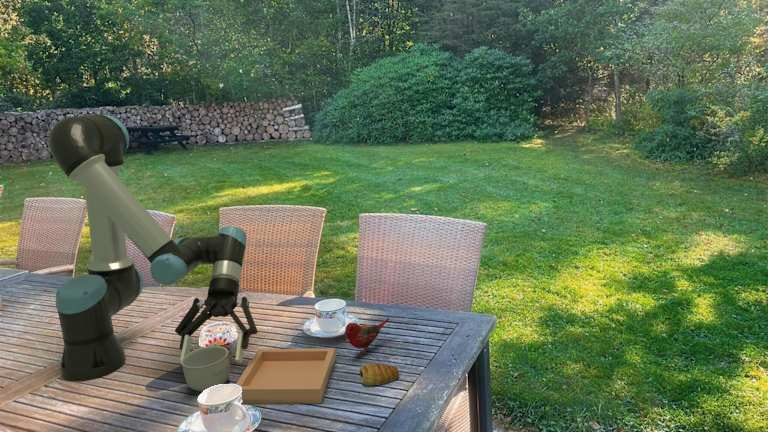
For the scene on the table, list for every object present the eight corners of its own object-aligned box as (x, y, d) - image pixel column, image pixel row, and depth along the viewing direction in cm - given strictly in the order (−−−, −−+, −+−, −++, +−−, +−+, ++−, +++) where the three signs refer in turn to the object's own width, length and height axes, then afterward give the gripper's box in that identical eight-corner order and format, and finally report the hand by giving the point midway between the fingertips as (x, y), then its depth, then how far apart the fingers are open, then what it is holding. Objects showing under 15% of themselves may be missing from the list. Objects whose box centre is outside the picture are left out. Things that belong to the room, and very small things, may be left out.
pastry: (395, 369, 140) (394, 355, 139) (402, 383, 134) (401, 368, 133) (357, 375, 138) (356, 361, 137) (363, 389, 132) (362, 374, 131)
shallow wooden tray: (233, 403, 128) (232, 389, 127) (259, 361, 147) (258, 349, 147) (321, 403, 126) (320, 389, 125) (335, 360, 146) (334, 348, 145)
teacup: (221, 398, 131) (217, 366, 129) (176, 397, 132) (172, 365, 130) (243, 368, 144) (239, 339, 142) (202, 368, 146) (198, 339, 144)
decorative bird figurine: (341, 361, 145) (339, 325, 143) (386, 336, 158) (384, 303, 156) (350, 364, 143) (347, 327, 141) (394, 339, 156) (393, 305, 154)
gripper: (275, 286, 150) (265, 366, 139) (184, 289, 152) (167, 367, 141) (268, 274, 143) (257, 356, 132) (172, 277, 146) (154, 358, 134)
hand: (210, 362), depth 136 cm, fingers open, 13 cm apart
